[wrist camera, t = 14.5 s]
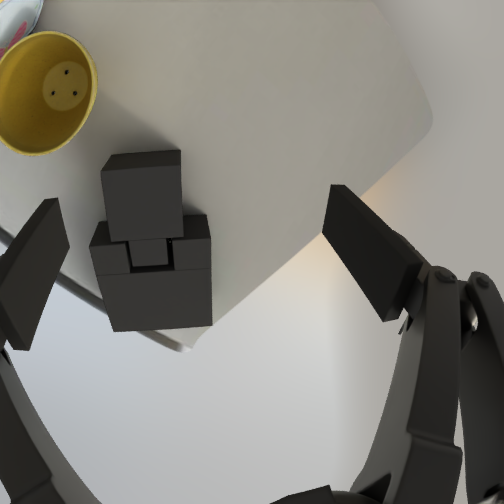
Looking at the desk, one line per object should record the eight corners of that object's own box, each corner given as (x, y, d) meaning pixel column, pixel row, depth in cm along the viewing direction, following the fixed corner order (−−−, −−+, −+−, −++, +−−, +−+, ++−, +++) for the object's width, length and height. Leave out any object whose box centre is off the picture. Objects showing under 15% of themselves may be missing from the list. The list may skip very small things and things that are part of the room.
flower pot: (20, 135, 23) (-15, 156, 17) (30, 39, 18) (-6, 38, 12) (106, 137, 26) (87, 158, 21) (123, 37, 21) (106, 28, 15)
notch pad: (206, 214, 33) (211, 238, 29) (207, 297, 40) (212, 325, 36) (98, 221, 31) (88, 246, 27) (117, 303, 38) (113, 332, 34)
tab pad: (180, 149, 29) (180, 164, 25) (183, 237, 34) (185, 263, 30) (111, 154, 27) (100, 171, 23) (122, 241, 33) (116, 267, 29)
